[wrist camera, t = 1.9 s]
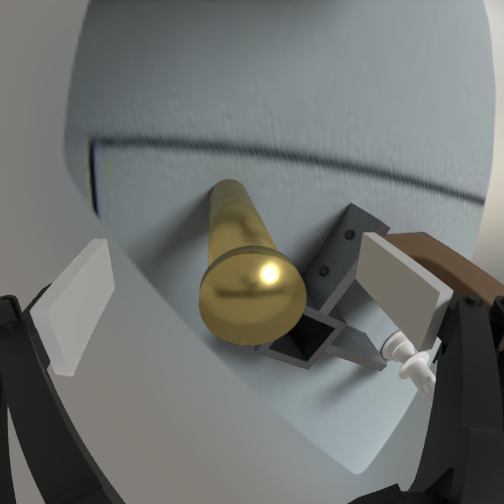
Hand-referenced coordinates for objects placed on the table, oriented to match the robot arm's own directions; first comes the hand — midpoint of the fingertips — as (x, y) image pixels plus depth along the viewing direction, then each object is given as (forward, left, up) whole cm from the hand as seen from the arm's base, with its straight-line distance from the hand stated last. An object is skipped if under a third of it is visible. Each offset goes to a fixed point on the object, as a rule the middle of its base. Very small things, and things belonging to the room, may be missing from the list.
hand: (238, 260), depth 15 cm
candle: (+19, +23, -13) cm, 32 cm away
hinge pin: (0, 0, -12) cm, 12 cm away
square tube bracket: (+9, +12, -12) cm, 20 cm away
